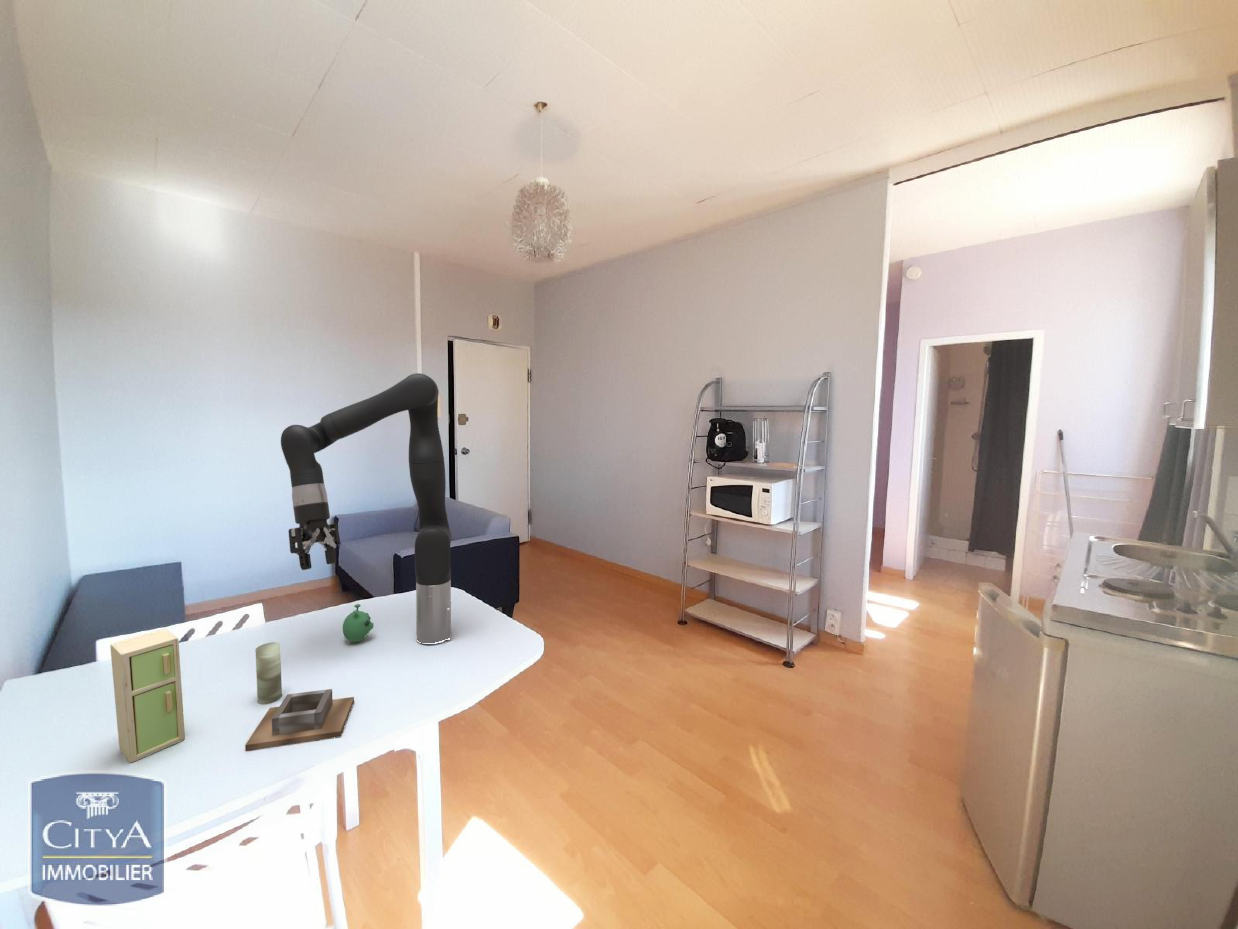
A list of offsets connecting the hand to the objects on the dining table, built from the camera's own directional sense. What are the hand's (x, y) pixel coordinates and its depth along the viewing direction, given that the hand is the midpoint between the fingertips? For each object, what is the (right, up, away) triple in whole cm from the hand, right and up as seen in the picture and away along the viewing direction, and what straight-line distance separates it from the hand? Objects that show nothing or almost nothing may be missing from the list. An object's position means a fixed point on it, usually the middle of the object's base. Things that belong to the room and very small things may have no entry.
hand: (319, 566), depth 121 cm
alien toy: (+2, -24, +14) cm, 28 cm away
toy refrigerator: (-13, -28, -30) cm, 43 cm away
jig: (+11, -28, -22) cm, 37 cm away
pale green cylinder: (-2, -27, -14) cm, 30 cm away
